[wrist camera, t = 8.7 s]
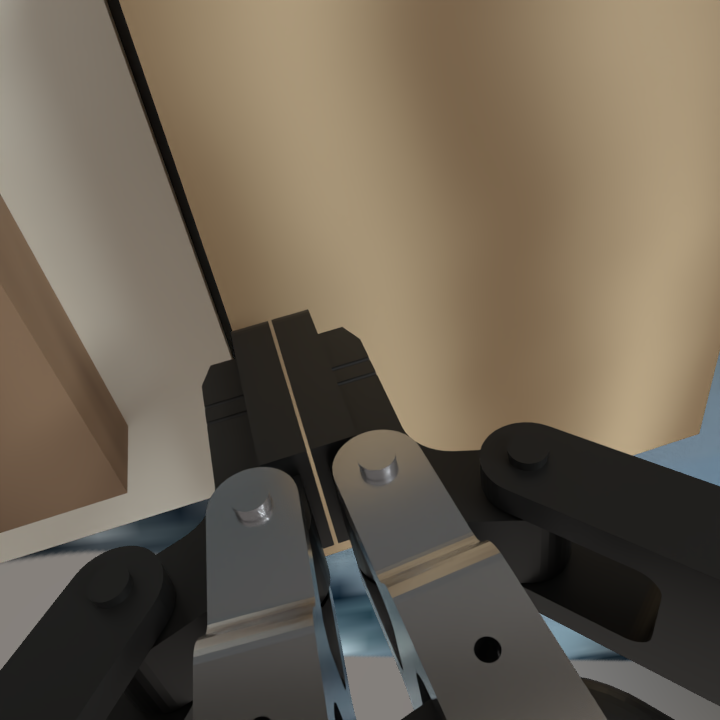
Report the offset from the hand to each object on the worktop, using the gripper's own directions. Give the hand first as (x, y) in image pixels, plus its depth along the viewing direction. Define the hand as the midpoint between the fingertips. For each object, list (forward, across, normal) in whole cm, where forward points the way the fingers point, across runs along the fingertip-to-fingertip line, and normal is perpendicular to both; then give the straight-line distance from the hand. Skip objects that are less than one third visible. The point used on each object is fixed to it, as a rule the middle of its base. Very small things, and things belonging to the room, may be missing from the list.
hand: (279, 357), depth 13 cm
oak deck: (+5, -5, 0) cm, 7 cm away
